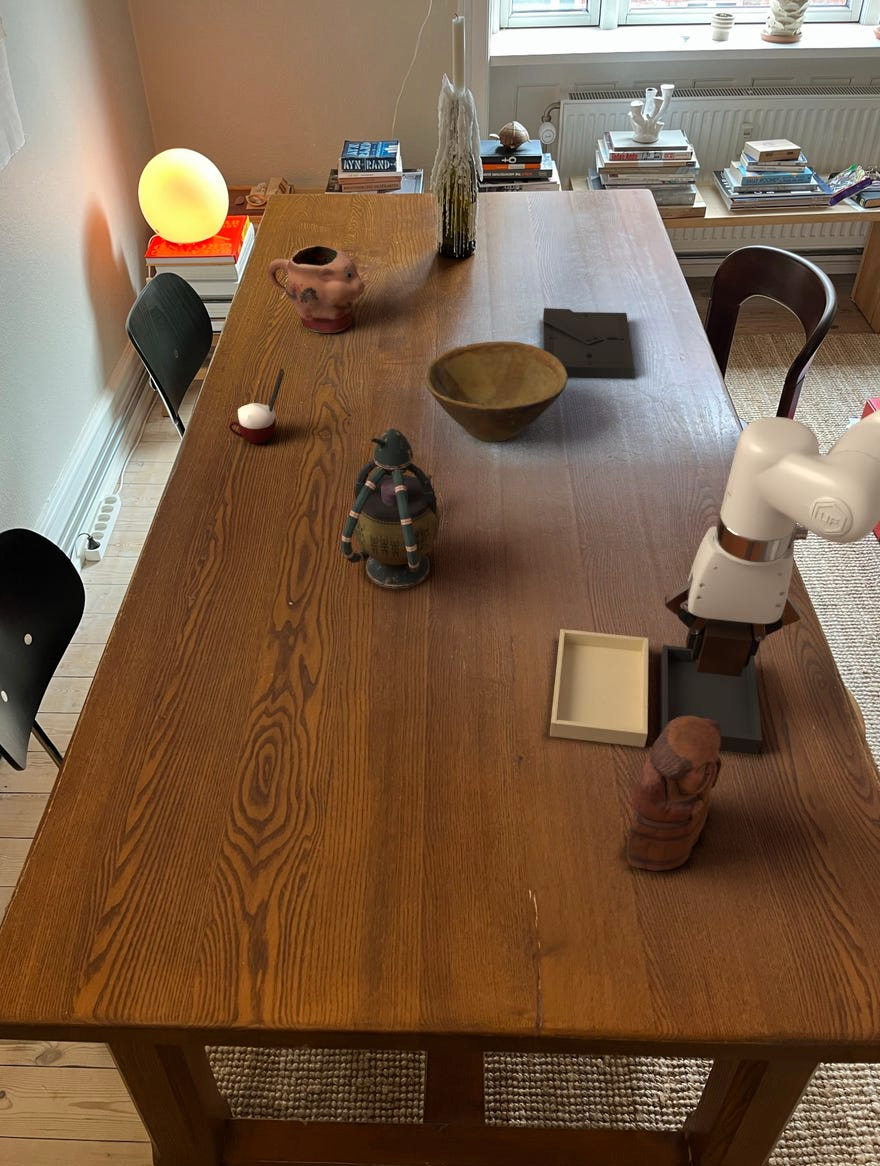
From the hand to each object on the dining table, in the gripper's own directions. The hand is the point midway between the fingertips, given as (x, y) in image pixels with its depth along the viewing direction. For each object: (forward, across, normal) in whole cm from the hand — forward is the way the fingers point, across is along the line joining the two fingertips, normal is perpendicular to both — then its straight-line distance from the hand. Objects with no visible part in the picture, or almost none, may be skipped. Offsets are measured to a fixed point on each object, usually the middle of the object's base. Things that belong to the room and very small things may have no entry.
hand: (719, 653), depth 117 cm
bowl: (+9, +33, -58) cm, 68 cm away
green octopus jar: (+9, +42, -23) cm, 49 cm away
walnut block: (+1, 0, 0) cm, 1 cm away
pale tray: (+9, +13, 0) cm, 16 cm away
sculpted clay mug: (+10, +71, -90) cm, 115 cm away
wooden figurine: (+9, +5, +21) cm, 23 cm away
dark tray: (+9, 0, 0) cm, 9 cm away
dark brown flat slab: (+9, +19, -86) cm, 89 cm away
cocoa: (+10, +71, -49) cm, 87 cm away
